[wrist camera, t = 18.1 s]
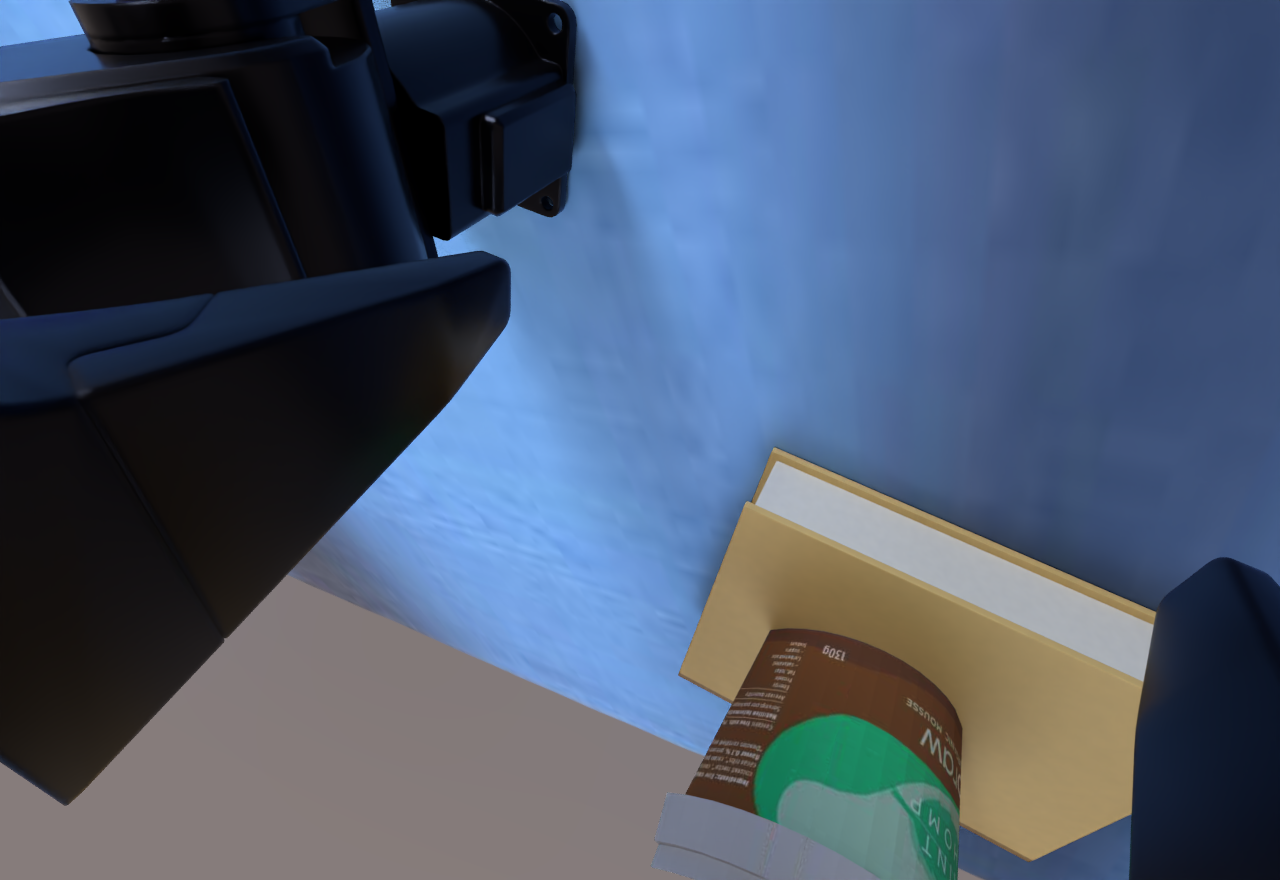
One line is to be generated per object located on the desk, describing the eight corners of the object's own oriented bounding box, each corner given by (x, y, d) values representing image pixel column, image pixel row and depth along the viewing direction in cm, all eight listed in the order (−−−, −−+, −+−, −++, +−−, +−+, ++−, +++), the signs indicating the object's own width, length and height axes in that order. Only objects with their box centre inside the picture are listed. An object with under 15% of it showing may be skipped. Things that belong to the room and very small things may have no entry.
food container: (1061, 798, 26) (1055, 1137, 19) (913, 792, 30) (865, 1066, 23) (883, 577, 23) (802, 884, 16) (748, 605, 27) (639, 856, 20)
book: (704, 620, 36) (677, 675, 33) (773, 446, 26) (744, 505, 24) (1032, 787, 32) (1029, 862, 29) (1252, 653, 22) (1272, 748, 20)
